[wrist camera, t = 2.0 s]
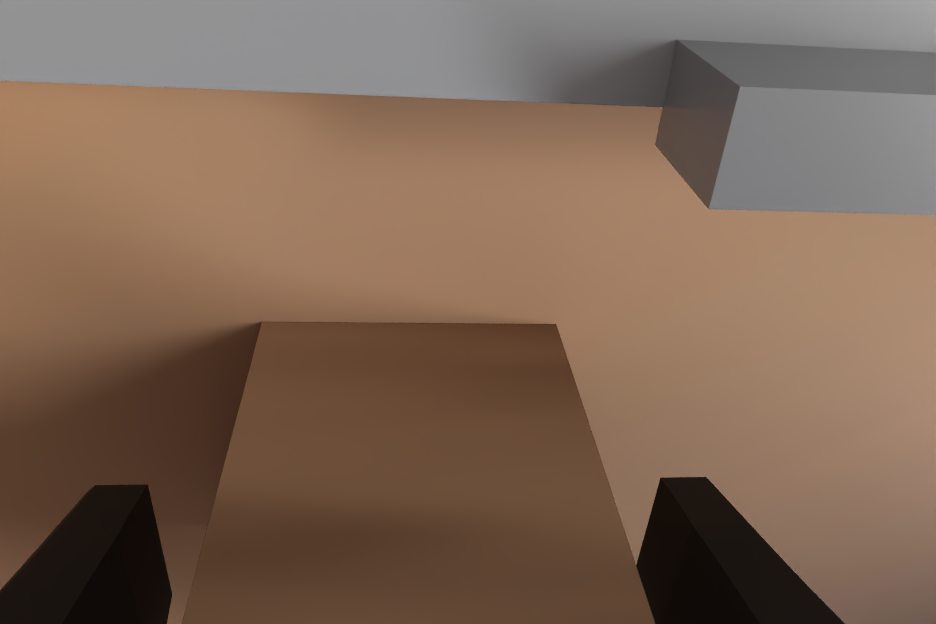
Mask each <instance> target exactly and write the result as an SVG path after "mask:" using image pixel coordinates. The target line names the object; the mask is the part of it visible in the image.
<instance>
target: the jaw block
mask: <svg viewBox="0 0 936 624" xmlns="http://www.w3.org/2000/svg"><path fill="white" fill-rule="evenodd" d="M182 624H655V621H654V618H653V615H652V612H651V609H650V606H649V603H648V600H647V597H646V594H645V591H644V588H643V585H642V582H641V579H640V576H639V573H638V570H637V567H636V564H635V561H634V558H633V555H632V552H631V549H630V546H629V543H628V540H627V537H626V534H625V531H624V528H623V525H622V522H621V519H620V516H619V513H618V510H617V507H616V504H615V501H614V498H613V495H612V492H611V489H610V486H609V483H608V480H607V476H606V473H605V470H604V467H603V464H602V461H601V458H600V455H599V452H598V449H597V446H596V443H595V440H594V437H593V434H592V431H591V428H590V425H589V422H588V419H587V416H586V413H585V410H584V407H583V404H582V401H581V398H580V395H579V392H578V389H577V386H576V383H575V380H574V377H573V374H572V371H571V368H570V365H569V362H568V359H567V356H566V353H565V350H564V347H563V344H562V341H561V338H560V335H559V332H558V329H557V326H556V324H465V323H348V322H262V323H261V327H260V331H259V335H258V339H257V342H256V346H255V350H254V354H253V357H252V361H251V365H250V369H249V372H248V376H247V380H246V384H245V388H244V391H243V395H242V399H241V403H240V406H239V410H238V414H237V418H236V421H235V425H234V429H233V433H232V437H231V440H230V444H229V448H228V452H227V455H226V459H225V463H224V467H223V471H222V474H221V478H220V482H219V486H218V489H217V493H216V497H215V501H214V504H213V508H212V512H211V516H210V520H209V523H208V527H207V531H206V535H205V538H204V542H203V546H202V550H201V554H200V557H199V561H198V565H197V569H196V572H195V576H194V580H193V584H192V587H191V591H190V595H189V599H188V603H187V606H186V610H185V614H184V618H183V621H182Z"/></svg>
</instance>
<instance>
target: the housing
mask: <svg viewBox="0 0 936 624" xmlns="http://www.w3.org/2000/svg"><path fill="white" fill-rule="evenodd" d="M0 81H25V82H50V83H75V84H100V85H124V86H149V87H174V88H199V89H224V90H248V91H273V92H298V93H323V94H348V95H373V96H397V97H422V98H447V99H472V100H497V101H521V102H546V103H571V104H596V105H621V106H646V107H663V109H662V114H661V119H660V124H659V129H658V134H657V138H656V143H655V145H656V146H657V148H658V149H659V150H660V151H661V152H662V154H663V155H664V156H665V157H666V158H667V160H668V161H669V162H670V163H671V164H672V166H673V167H674V168H675V169H676V170H677V172H678V173H679V174H680V175H681V176H682V178H683V179H684V180H685V181H686V182H687V184H688V185H689V186H690V187H691V188H692V190H693V191H694V192H695V193H696V194H697V196H698V197H699V198H700V199H701V200H702V202H703V203H704V204H705V205H706V207H707V208H708V209H720V210H759V211H798V212H837V213H876V214H914V215H936V0H0Z"/></svg>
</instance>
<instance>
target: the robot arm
mask: <svg viewBox="0 0 936 624" xmlns="http://www.w3.org/2000/svg"><path fill="white" fill-rule="evenodd" d="M636 567H637V570H638V573H639V576H640V579H641V582H642V585H643V588H644V591H645V594H646V597H647V600H648V603H649V606H650V609H651V612H652V615H653V618H654V621H655V624H844V623H843V621H842V620H841V619H840V618H839V617H838V616H837V615H836V614H835V613H834V612H833V611H832V610H831V609H830V608H829V607H828V606H827V605H826V604H825V603H824V602H823V601H822V600H821V599H820V598H819V597H818V596H817V595H816V594H815V593H814V592H813V591H812V590H811V589H810V588H809V587H808V586H807V585H806V584H805V583H804V582H803V581H802V580H801V578H800V577H799V576H798V575H797V574H796V573H795V572H794V571H793V570H792V569H791V568H790V567H789V566H788V565H787V564H786V563H785V562H784V561H783V559H782V558H781V557H780V556H779V555H778V554H777V553H776V552H775V551H774V550H773V549H772V548H771V547H770V546H769V544H768V543H767V542H766V541H765V540H764V539H763V538H762V537H761V536H760V535H759V534H758V533H757V532H756V530H755V529H754V528H753V527H752V526H751V525H750V524H749V523H748V522H747V521H746V520H745V519H744V517H743V516H742V515H741V514H740V513H739V512H738V511H737V510H736V509H735V508H734V507H733V506H732V504H731V503H730V502H729V501H728V500H727V499H726V498H725V497H724V496H723V495H722V494H721V492H720V491H719V490H718V489H717V488H716V487H715V486H714V485H713V484H712V483H711V482H710V481H709V480H708V479H707V478H706V477H679V478H660V482H659V486H658V489H657V493H656V496H655V500H654V504H653V507H652V511H651V514H650V518H649V522H648V525H647V529H646V532H645V536H644V540H643V543H642V547H641V550H640V554H639V558H638V561H637V565H636ZM171 598H172V591H171V587H170V582H169V578H168V573H167V569H166V565H165V560H164V556H163V551H162V547H161V542H160V538H159V533H158V529H157V524H156V520H155V515H154V511H153V506H152V502H151V497H150V493H149V488H148V485H95V486H94V487H93V488H92V489H90V490H89V491H88V492H87V493H86V494H85V495H84V496H83V498H82V499H81V500H80V501H79V502H78V503H77V504H76V505H75V507H74V508H73V509H72V510H71V511H70V512H69V513H68V515H67V516H66V517H65V518H64V519H63V520H62V521H61V523H60V524H59V525H58V526H57V527H56V528H55V529H54V531H53V532H52V533H51V534H50V535H49V536H48V537H47V539H46V540H45V541H44V542H43V543H42V544H41V545H40V546H39V548H38V549H37V550H36V551H35V552H34V553H33V554H32V556H31V557H30V558H29V559H28V560H27V561H26V562H25V563H24V564H23V566H22V567H21V568H20V569H19V570H18V571H17V572H16V573H15V574H14V576H13V577H12V578H11V579H10V580H9V581H8V582H7V583H6V584H5V586H4V587H3V588H2V589H1V590H0V624H167V619H168V614H169V609H170V604H171Z"/></svg>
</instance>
